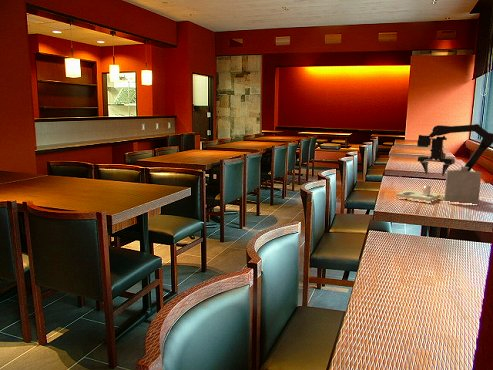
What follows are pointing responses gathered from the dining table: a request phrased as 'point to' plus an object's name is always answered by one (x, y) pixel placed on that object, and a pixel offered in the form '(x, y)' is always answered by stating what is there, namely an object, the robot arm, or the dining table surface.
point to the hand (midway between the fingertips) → (434, 175)
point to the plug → (426, 191)
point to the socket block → (418, 195)
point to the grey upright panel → (462, 186)
